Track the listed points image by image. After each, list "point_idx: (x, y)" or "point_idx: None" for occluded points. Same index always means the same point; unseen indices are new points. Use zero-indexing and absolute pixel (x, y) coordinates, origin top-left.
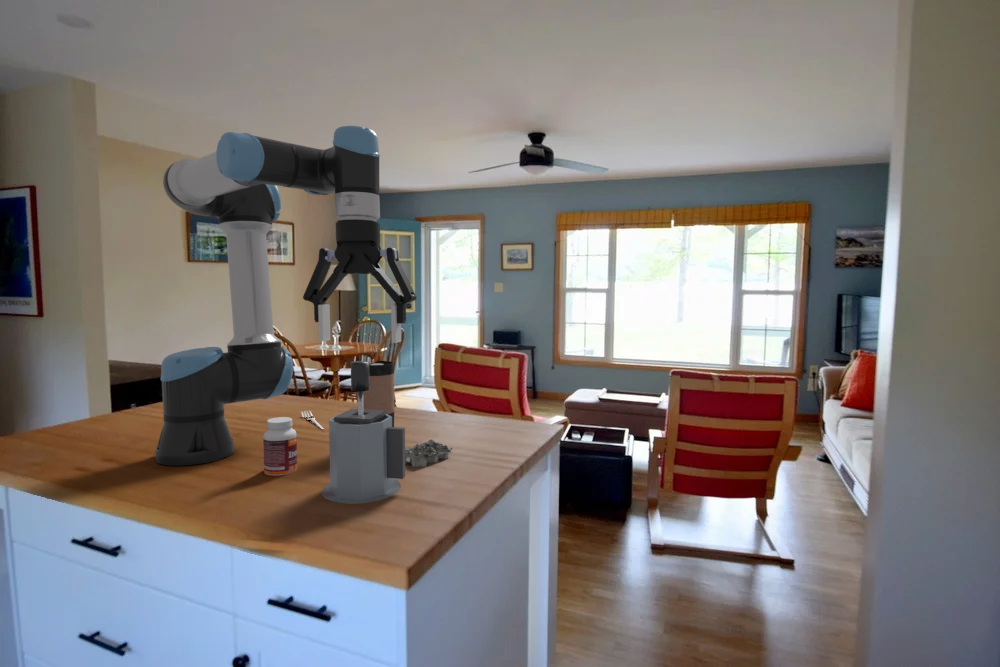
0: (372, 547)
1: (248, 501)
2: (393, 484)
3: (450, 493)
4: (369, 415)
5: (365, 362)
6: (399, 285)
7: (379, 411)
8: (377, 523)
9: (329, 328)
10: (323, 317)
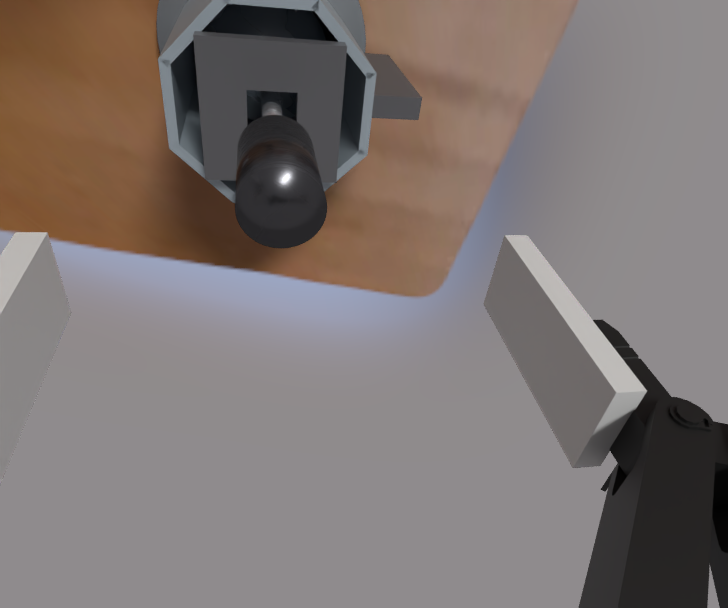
0: (377, 269)
1: (18, 141)
2: (339, 6)
3: (487, 17)
4: (314, 138)
5: (313, 213)
6: (725, 603)
7: (328, 70)
8: (360, 196)
9: (24, 290)
10: (19, 418)
